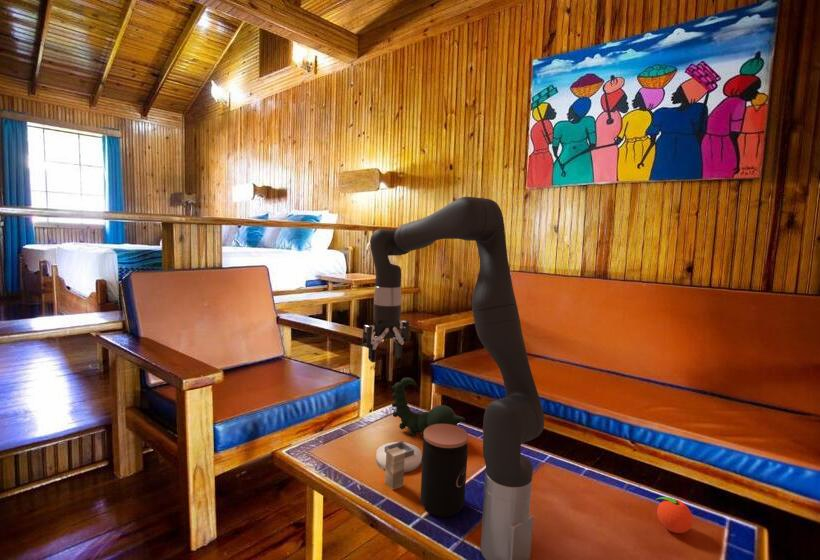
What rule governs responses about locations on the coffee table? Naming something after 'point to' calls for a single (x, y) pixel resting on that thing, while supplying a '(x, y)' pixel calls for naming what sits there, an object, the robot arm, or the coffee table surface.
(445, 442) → the coffee jar
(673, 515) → the clementine
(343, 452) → the coffee table surface
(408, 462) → the candle dish
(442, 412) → the toy figurine
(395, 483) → the wood grain block
